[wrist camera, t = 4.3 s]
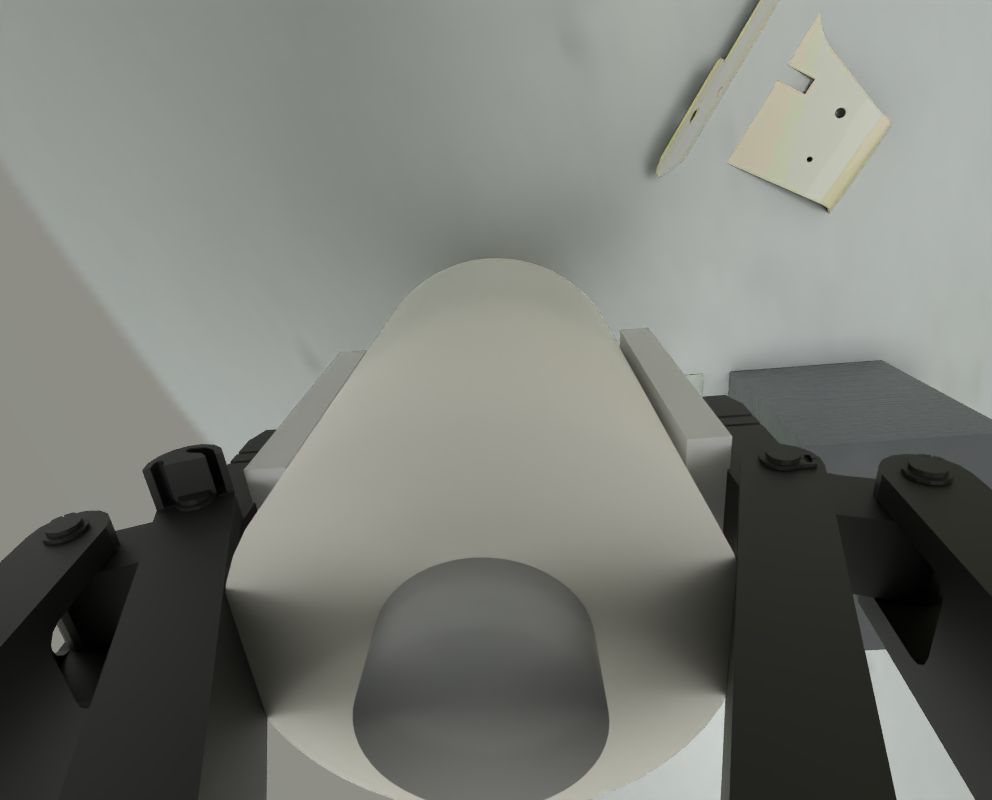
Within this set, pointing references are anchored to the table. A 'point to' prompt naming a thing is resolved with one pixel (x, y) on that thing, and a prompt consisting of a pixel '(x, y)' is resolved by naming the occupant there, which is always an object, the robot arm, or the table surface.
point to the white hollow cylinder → (487, 559)
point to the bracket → (792, 120)
